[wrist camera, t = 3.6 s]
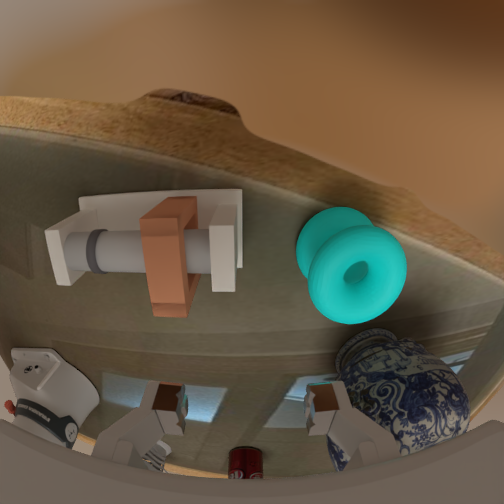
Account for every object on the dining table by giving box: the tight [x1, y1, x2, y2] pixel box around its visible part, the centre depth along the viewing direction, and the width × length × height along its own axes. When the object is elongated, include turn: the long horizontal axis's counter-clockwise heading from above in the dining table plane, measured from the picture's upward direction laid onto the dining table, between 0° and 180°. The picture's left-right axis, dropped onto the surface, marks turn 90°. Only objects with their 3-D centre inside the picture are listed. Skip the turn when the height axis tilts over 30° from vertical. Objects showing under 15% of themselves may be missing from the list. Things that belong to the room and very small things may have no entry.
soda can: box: [228, 447, 263, 479], centre depth 45 cm, size 7×7×12 cm
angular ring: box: [139, 196, 201, 318], centre depth 26 cm, size 3×9×8 cm, turn 0°
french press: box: [142, 440, 171, 473], centre depth 39 cm, size 10×12×25 cm
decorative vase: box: [326, 328, 470, 472], centre depth 27 cm, size 21×19×28 cm
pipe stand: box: [45, 189, 243, 292], centre depth 28 cm, size 20×9×9 cm, turn 90°
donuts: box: [296, 207, 407, 324], centre depth 29 cm, size 10×10×10 cm
